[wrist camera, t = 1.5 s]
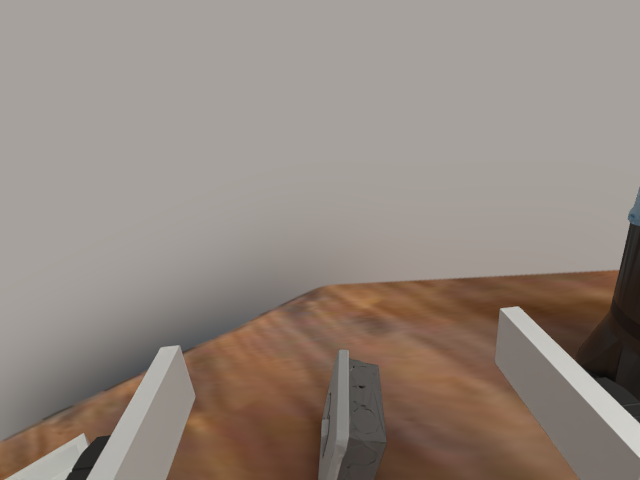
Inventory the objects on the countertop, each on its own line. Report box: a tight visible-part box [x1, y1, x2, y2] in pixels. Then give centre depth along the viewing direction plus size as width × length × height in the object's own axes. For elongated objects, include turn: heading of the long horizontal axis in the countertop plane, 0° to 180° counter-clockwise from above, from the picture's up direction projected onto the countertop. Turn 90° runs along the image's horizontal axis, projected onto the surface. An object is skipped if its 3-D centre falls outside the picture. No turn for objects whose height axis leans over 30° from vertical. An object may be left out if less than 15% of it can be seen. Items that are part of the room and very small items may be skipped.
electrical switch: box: [318, 349, 387, 480], centre depth 30 cm, size 9×5×9 cm, turn 176°
